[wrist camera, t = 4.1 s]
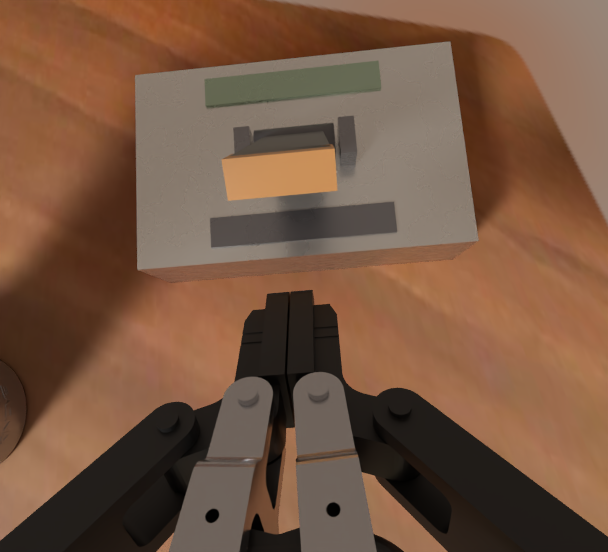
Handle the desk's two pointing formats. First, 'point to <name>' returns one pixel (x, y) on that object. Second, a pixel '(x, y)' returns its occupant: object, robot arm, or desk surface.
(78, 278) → the desk surface
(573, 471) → the desk surface
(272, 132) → the breaker lever
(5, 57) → the desk surface
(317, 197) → the breaker box
